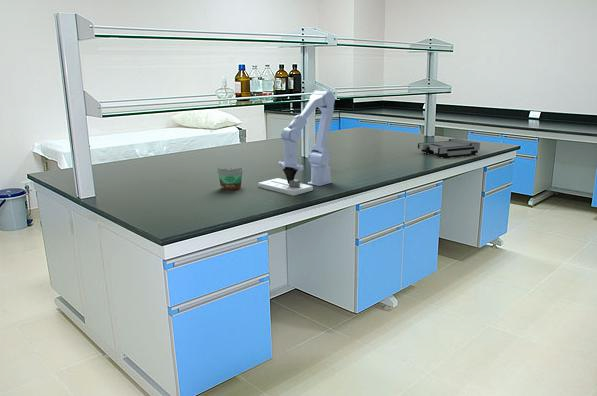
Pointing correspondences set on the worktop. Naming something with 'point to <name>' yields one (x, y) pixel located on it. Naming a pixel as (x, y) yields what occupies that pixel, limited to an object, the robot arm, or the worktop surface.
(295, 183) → the fader tab
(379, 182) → the worktop surface
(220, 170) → the food container
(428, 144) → the game console
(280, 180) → the fader console
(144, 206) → the worktop surface
